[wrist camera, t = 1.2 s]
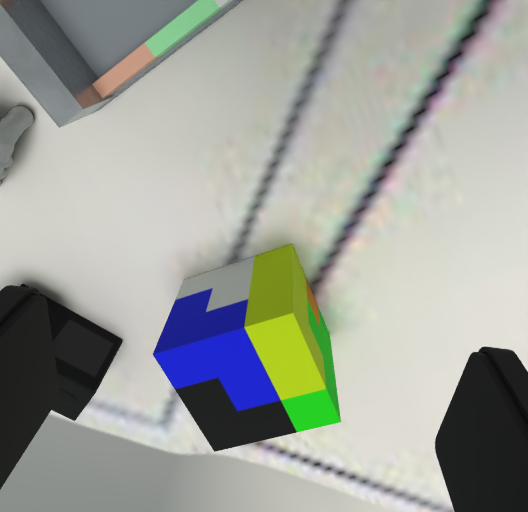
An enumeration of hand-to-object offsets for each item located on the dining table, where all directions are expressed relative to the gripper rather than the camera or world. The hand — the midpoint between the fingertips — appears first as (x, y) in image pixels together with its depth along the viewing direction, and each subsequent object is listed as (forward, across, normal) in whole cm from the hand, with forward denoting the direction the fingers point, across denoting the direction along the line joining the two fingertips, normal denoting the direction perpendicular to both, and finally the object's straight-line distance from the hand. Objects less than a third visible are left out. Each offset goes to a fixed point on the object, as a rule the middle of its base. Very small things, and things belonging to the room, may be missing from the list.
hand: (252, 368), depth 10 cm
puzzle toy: (+26, 0, +16) cm, 30 cm away
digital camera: (+25, +18, +20) cm, 37 cm away
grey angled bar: (+24, +16, -4) cm, 29 cm away
